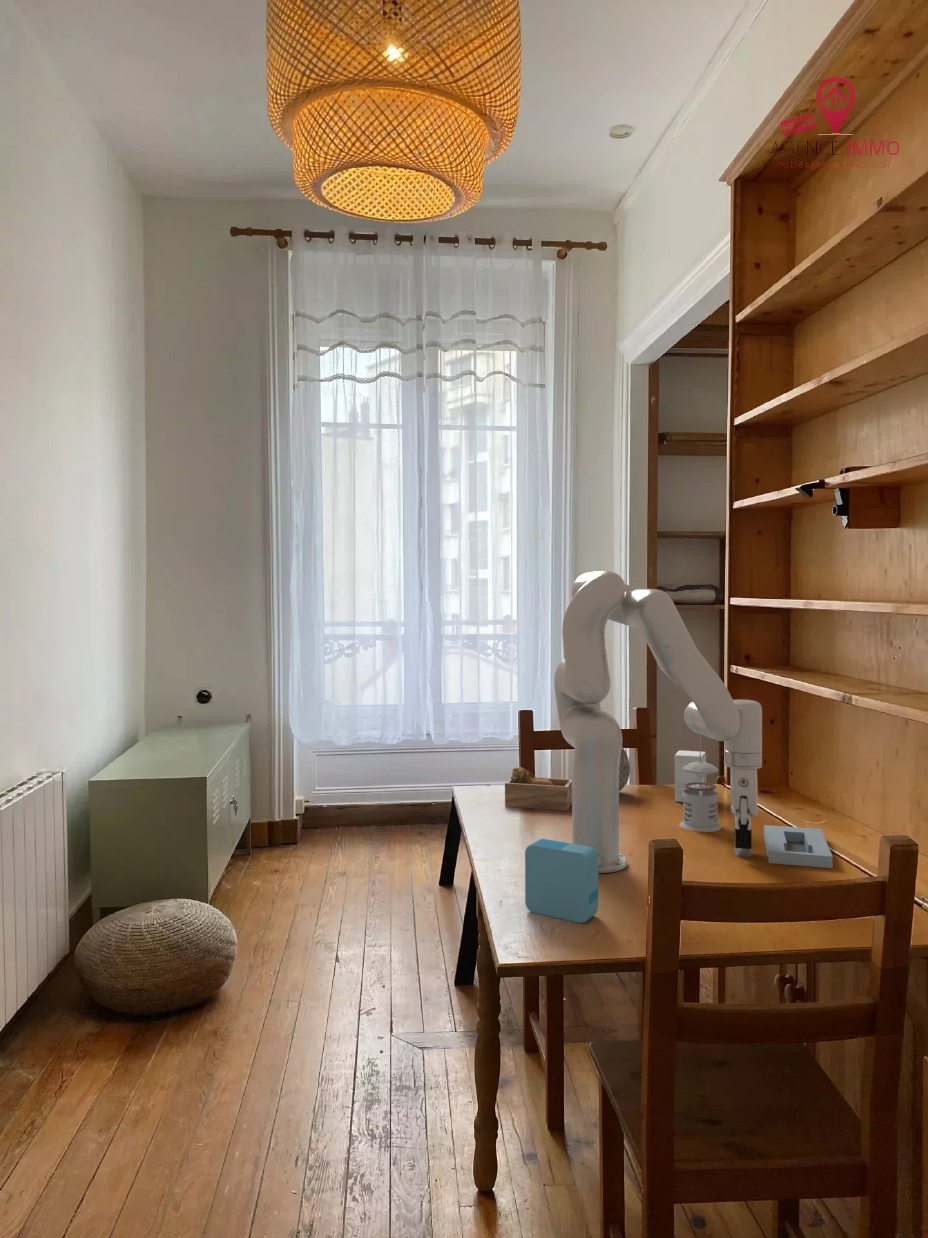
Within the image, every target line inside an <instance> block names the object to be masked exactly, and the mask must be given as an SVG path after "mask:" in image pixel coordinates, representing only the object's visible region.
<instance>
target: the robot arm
mask: <svg viewBox="0 0 928 1238" xmlns="http://www.w3.org/2000/svg"><path fill="white" fill-rule="evenodd" d="M571 597H572V598H571V600H570V602H569V603H568V605H567V608H566V610H565V613H564V616H563V621H562V629H561V630H562V635H561V636H562V645H563V646H562V647H563V648H562V649H563V657H564V659H562V660H561V661H560V662H559V663H558V665H557V667H556V670H555V672H554V681H553V682H554V683H553V684H554V692H555V700H556V706H557V707H556V708H557V715H558V721H559V728H560V731H561V734H562V736H563V738H564V740H565V741H566V742H567V743H568V744H569V745H570V746H571V747H573V748H574V754H573V755H574V756H573V763H572V769H571V770H572V771H571V772H572V773H571V779H572V804H571V806H572V808H571V810H572V815H571V818H572V819H571V821H572V822H571V824H572V825H571V827H572V843H571V844H577V845H583V846H589V847H592V848H594V849H595V850H596V852H597V854H598V874H610V873H615V872H619V871H622V870H623V869H625V868H626V867H627V866H628V861H627V860H628V859H627V857H626V856H625V855H623V854H622V853H620V791H619V765H620V756H621V750H622V747H623V732H622V730H621V726H620V725H619V723H618V722H617V721H618V720H616V719H615V718H614V716H612V715H611V714H609V713H608V712H606V711H603V710H602V708H601V702H603V701H604V700H605V699H606V698H607V696H608V695H609V693H610V690H611V676H610V669H609V665H608V655H607V649H606V636H605V634H606V632H605V631H606V625H607V622H608V620H610V621H612V622H615V623H617V624H618V623H619V624H622V625H625V626H628V627H632V628H635V629H639V631H640V632H641V634H642V636H643V638H644V640H645V642H646V644H647V646H648V647H649V649H650V651H651V653H652V655H653V657H654V659H655V662H656V663H657V665H658V667H659V668H660V670H661V671H662V672H663V674H665V675H666V677H668V679H670V680H672V681H673V682H674V683H675V684H677V686H679V687H680V688H681V689H682V690H683V692H685V693H686V695H687V696H688V697H689V699H690V700H691V702H690V703H689V704H688V705H686V708H685V709H684V713H683V719H684V722H685V724H686V726H687V727H688V729H690V730H691V731H692V732H694V733H697V734H699V735H700V734H701V736H704V737H707V738H709V739H712V740H715V741H718V742H724V747H723V750H724V751H723V755H724V757H723V759H724V760H723V763H724V766H725V767H727V768H729V769H730V771H729V772H730V773H729V774H730V781H729V782H730V783H729V784H730V785H729V786H730V799H731V800H730V801H731V806H732V809H733V815H734V816H735V815H736V828H735V820H734V826H733V827H734V834H733V835H734V848H735V847H736V848H741V849H751V850H752V845H753V844H752V841H753V840H752V834H753V833H752V828H751V829H750V817H751V818H752V816H753V817H754V818H755V817H757V816H759V815H758V814H759V813H758V812H759V811H758V769H761V768H762V767H763V708H762V705H761V704H760V702H758V701H756V700H751V699H733V697H732V696H731V693H730V691H729V690H728V688H727V687H726V684H725V683H724V682H723V680H722V679H721V677H720V676H719V675H718V673H717V672H716V671H715V670H714V669H713V667H712V666H711V665H710V663H708V661H707V659H706V658H705V657H704V656H703V654H701V652H700V651H699V650H698V648H697V646H696V644H695V641H694V640H693V638H692V636H691V634H690V632H689V630H688V629H687V627H686V624H685V622H684V621H683V619H682V617H681V614H680V613H679V611H678V609H677V607H676V605H675V603H674V601H673V600H672V598H671V596H669V594H668V593H667V592H665V591H663V590H661V589H658V588H657V589H655V588H640V587H635V586H632V585H629V584H626V583H625V581H624V579H623V578H622V576H620V574H618V573H616V572H614V571H610V570H598V571H597V570H596V571H590V572H589V571H588V572H585V573H582V574H581V575H579V576H578V577H577V578H576V579H575V581H574V583H573V584H572V587H571ZM738 807H739V808H738ZM738 812H741V814H738ZM747 812H748V814H747ZM750 812H751V815H752V816H750ZM739 818H741V819H739ZM747 818H748V819H747Z"/></svg>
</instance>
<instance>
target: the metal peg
mask: <svg viewBox="0 0 928 1238" xmlns="http://www.w3.org/2000/svg"><path fill="white" fill-rule="evenodd" d="M738 808H739V807H738ZM730 813H731V814H733V809H732V805H730ZM738 814H741V812H738ZM747 814H748V812H747ZM733 815H734V814H733ZM750 816H751V817H750V829H751V830H752V828H751V827H752V826H751V825H752V816H753V815H751V812H750ZM739 819H741V818H739ZM747 819H748V818H747ZM734 821H735V828H736V815H734ZM751 850H752V848H751V849H741V848H736V847H735V846H734V855H735V857H737V858H738V857H739V858H750V857H751V856H752V853H751V852H752V851H751Z"/></svg>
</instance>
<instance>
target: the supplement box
mask: <svg viewBox="0 0 928 1238" xmlns="http://www.w3.org/2000/svg"><path fill="white" fill-rule="evenodd" d="M698 761H700V750H699V751H698V750H697V751H696V750H678V751H677V752H676V753H675V754H674V800H675V803H677V802H679V803H683V798H684V797H683V791H684V790H686V789H688V788H686V786H685V784H686V783H689V782H693V783H694V782H697V774H694V773H689V772H686V771H685V770H684V769H683V767H684V766H686V765H688V764H689V763H693V762H698ZM701 761H702V762H705V763H707V753H706V751H701ZM698 776H700V774H698ZM701 776H704V774H701ZM699 782H700V777H698V783H699ZM703 782H704V777H701V783H703ZM705 783H707V774H705ZM699 796H702V791H699ZM684 802H685V800H684Z"/></svg>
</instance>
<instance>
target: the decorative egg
mask: <svg viewBox="0 0 928 1238" xmlns="http://www.w3.org/2000/svg"><path fill="white" fill-rule="evenodd" d="M630 768H631V767H630V760H629V757H628V754H627V752H626V750H625V749H624V747H623V746H622V750H621V756H620V765H619V792H620V791H621V790H622V789H623V788H625V786H626V784H628V781H629V777H630V774H631V773H630V772H631V769H630Z"/></svg>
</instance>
